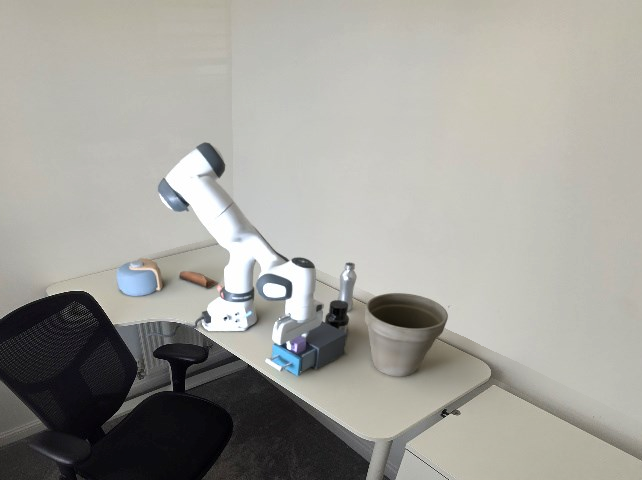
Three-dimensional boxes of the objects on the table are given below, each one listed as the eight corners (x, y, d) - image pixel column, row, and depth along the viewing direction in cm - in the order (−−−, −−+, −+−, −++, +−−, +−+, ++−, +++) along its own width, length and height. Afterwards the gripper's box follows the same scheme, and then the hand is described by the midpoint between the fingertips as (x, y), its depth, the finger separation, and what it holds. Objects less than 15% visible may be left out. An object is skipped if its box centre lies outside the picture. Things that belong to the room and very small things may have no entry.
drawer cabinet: (316, 369, 150) (319, 348, 145) (288, 352, 158) (289, 332, 153) (344, 353, 157) (347, 333, 152) (315, 338, 166) (317, 318, 161)
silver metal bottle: (352, 313, 182) (359, 267, 170) (335, 312, 183) (341, 266, 171) (352, 306, 187) (359, 261, 175) (336, 305, 188) (341, 260, 176)
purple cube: (296, 354, 146) (297, 344, 143) (287, 349, 148) (287, 339, 146) (305, 349, 148) (306, 339, 146) (296, 344, 151) (296, 334, 148)
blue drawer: (285, 383, 142) (286, 366, 138) (259, 366, 150) (260, 350, 146) (324, 361, 152) (326, 344, 148) (298, 346, 160) (300, 330, 156)
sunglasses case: (218, 282, 206) (213, 273, 201) (210, 293, 204) (204, 284, 199) (191, 272, 215) (185, 263, 210) (183, 283, 214) (176, 275, 208)
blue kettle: (169, 289, 202) (166, 264, 194) (128, 300, 193) (123, 275, 185) (151, 275, 214) (148, 251, 207) (112, 285, 205) (107, 260, 198)
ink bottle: (344, 340, 165) (348, 311, 158) (321, 336, 167) (324, 308, 160) (348, 327, 172) (353, 300, 165) (326, 324, 175) (330, 296, 168)
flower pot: (343, 366, 151) (351, 310, 138) (377, 338, 166) (388, 285, 153) (411, 396, 138) (428, 337, 125) (442, 362, 152) (460, 307, 139)
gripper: (283, 323, 132) (280, 360, 140) (327, 302, 142) (323, 338, 151) (268, 315, 136) (267, 352, 144) (313, 296, 146) (309, 331, 155)
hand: (296, 345), depth 147 cm, fingers closed on purple cube, 4 cm apart
